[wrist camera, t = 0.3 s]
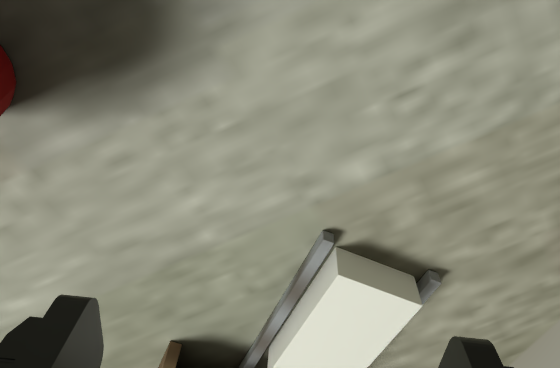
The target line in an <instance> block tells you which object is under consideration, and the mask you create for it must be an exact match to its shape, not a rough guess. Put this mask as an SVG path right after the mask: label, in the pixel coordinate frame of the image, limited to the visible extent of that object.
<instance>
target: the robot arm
mask: <svg viewBox="0 0 560 368" xmlns="http://www.w3.org/2000/svg"><path fill="white" fill-rule="evenodd" d="M103 347H104V345H103V336H102V328H101V321H100V313H99V305H98V301H97V299H96V298H90V297H80V296H70V295H59V296H58V297H57V298H56V299H55V300H54V302H53V303H52V305H51V306H50V308H49V309H48V311H47V312H46V314H45V315H44V317H43V318H39V317H29V318H27V319H26V320H25V321H24V322H22V323H21V324H20V325H18V326H17V327H16V328H14V329H13V330H12V331H10V332H9V333H8V334H7V335H6V336H5V337H4V339H3V340H2V342H1V343H0V368H100V365H101V361H102V357H103ZM438 368H514V367H506V366H503V364H502V362H501V360H500V358H499V356H498V354H497V352H496V349H495V347H494V346H493V344H492V343H491V342H490V341H489V340H485V339H475V338H465V337H456V336H454V337H452V338H451V339H450V341H449V343H448V346H447V348H446V350H445V353H444V355H443V358H442V360H441V362H440V365H439V367H438Z"/></svg>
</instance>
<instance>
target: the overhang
mask: <svg viewBox="0 0 560 368" xmlns="http://www.w3.org/2000/svg"><path fill="white" fill-rule="evenodd" d="M333 244H334V235H333V234H332V233H329V232H327V231H324V230H323V231H322V232H321V234H320V236H319V237H318V239H317V241H316V242H315V244H314V245H313V247H312V249H311V250H310V252H309V254H308V255H307V257H306V258H305V260H304V262H303V263H302V265H301V267H300V268H299V270H298V272H297V273H296V275H295V276H294V278H293V280H292V281H291V283H290V285H289V286H288V288H287V289H286V291H285V293H284V294H283V296H282V298H281V299H280V301H279V302H278V304H277V306H276V307H275V309H274V311H273V312H272V314H271V315H270V317H269V319H268V320H267V322H266V324H265V325H264V327H263V328H262V330H261V332H260V333H259V335H258V337H257V338H256V340H255V341H254V343H253V345H252V346H251V348H250V350H249V351H248V353H247V355H246V356H245V358H244V359H243V361H242V363H241V364H240V366H239V368H254V367H255V365H256V364H257V362H258V361H259V359H260V358H261V356H262V354H263V353H264V351H265V350H266V348H267V347H268V345H269V344H270V342H271V341H272V339H273V337H274V336H275V334H276V333H277V331H278V330H279V328H280V327H281V325H282V323H283V322H284V320H285V319H286V317H287V316H288V314H289V313H290V311H291V310H292V308H293V306H294V305H295V303H296V302H297V300H298V299H299V297H300V296H301V294H302V293H303V291H304V289H305V288H306V286H307V285H308V283H309V282H310V280H311V279H312V277H313V275H314V274H315V272H316V271H317V269H318V268H319V266H320V265H321V263H322V262H323V260H324V258H325V257H326V255H327V254H328V252H329V251H330V249H331V248H332V246H333ZM440 284H441V280H440V278H439V275H438V273H436V272H434V271H431V270H428V271H427V272H426V273H425V274H424V275H423V277H422V278H421V279H420V280H419V281H418V283H417V284H416V285H417V288H418V292H419V295H420V299H421V302H422V305H423V304H424V302H425V301H426V300H427V299H428V298H429V297H430V296H431V294H432V293H433V292H434V291H435V290H436V289H437V288H438V286H439V285H440ZM181 346H182V344H179V343H176V342H172V341H170V343H169V345H168V348H167V350H166V352H165V354H164V356H163V359H162V361H161V363H160V365H159V367H158V368H175V367H176V364H177V360H178V357H179V353H180V349H181ZM375 359H376V358H375ZM368 367H369V366H368ZM368 367H367V368H368Z"/></svg>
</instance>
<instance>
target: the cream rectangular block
mask: <svg viewBox="0 0 560 368" xmlns="http://www.w3.org/2000/svg"><path fill="white" fill-rule="evenodd" d="M421 307H422V302H421V299H420V295H419V292H418V288H417V285H416V281H415V278H414V276H412V275H409V274H407V273H404V272H401V271H399V270H396V269H394V268H391V267H388V266H386V265H383V264H380V263H378V262H375V261H372V260H370V259H367V258H364V257H362V256H359V255H357V254H354V253H351V252H349V251H346V250H343V249H341V248H338V247H335V248H334V250H333V251H332V253H331V254H330V256H329V257H328V259H327V260H326V262H325V263H324V265H323V266H322V268H321V269H320V271H319V272H318V274H317V275H316V277H315V278H314V280H313V281H312V283H311V284H310V286H309V287H308V289H307V290H306V292H305V293H304V295H303V296H302V298H301V299H300V301H299V302H298V304H297V305H296V307H295V308H294V310H293V311H292V313H291V314H290V316H289V317H288V319H287V320H286V322H285V323H284V325H283V326H282V328H281V329H280V331H279V332H278V334H277V335H276V337H275V338H274V340H273V341H272V343H271V344H270V346H269V355H268V367H267V368H367V367H368V366H369V365H370V364H371V363H372V362H373V361H374V360H375V358H376V357H377V356H378V355H379V354H380V353H381V352H382V351H383V350H384V348H385V347H386V346H387V345H388V344H389V343H390V342H391V341H392V339H393V338H394V337H395V336H396V335H397V334H398V333H399V332H400V331H401V329H402V328H403V327H404V326H405V325H406V324H407V323H408V322H409V320H410V319H411V318H412V317H413V316H414V315H415V314H416V313H417V312H418V310H419V309H420V308H421Z"/></svg>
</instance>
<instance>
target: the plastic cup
mask: <svg viewBox="0 0 560 368" xmlns="http://www.w3.org/2000/svg"><path fill="white" fill-rule="evenodd" d="M15 87H16V79H15V74H14V70H13V65H12V63H11V61H10V59H9V58H8V56H7V55H6V53H5V51H4V50H3V48H2V47H1V45H0V116H1V115H2V114H3V112H4V111H5V110H6V109H7V108H8V107H9V105H10V103H11V100H12V99H13V96H14V91H15Z"/></svg>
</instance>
